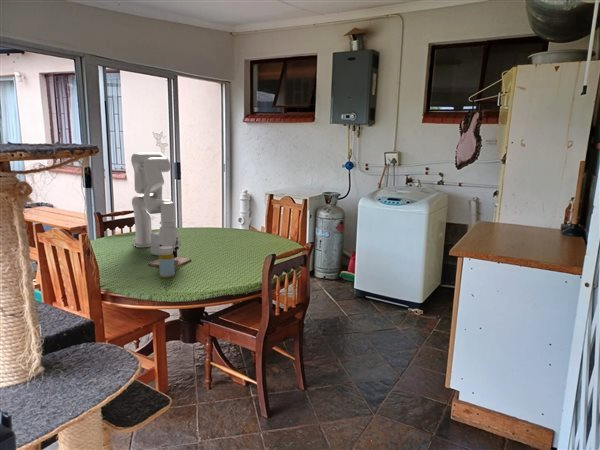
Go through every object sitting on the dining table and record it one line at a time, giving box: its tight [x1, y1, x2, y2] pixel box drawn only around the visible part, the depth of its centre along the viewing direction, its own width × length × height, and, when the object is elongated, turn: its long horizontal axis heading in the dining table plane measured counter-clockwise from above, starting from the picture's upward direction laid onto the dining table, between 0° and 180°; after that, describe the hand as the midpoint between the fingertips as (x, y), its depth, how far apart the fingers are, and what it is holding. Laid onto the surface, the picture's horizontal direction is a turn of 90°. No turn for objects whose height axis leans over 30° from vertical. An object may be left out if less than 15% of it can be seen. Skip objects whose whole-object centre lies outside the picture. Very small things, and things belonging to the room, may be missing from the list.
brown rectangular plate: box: [148, 256, 192, 269], centre depth 227 cm, size 16×16×5 cm
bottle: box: [158, 246, 176, 279], centre depth 206 cm, size 7×7×15 cm
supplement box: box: [150, 230, 160, 256], centre depth 244 cm, size 7×7×13 cm
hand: (170, 256), depth 227 cm, fingers closed on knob, 5 cm apart
